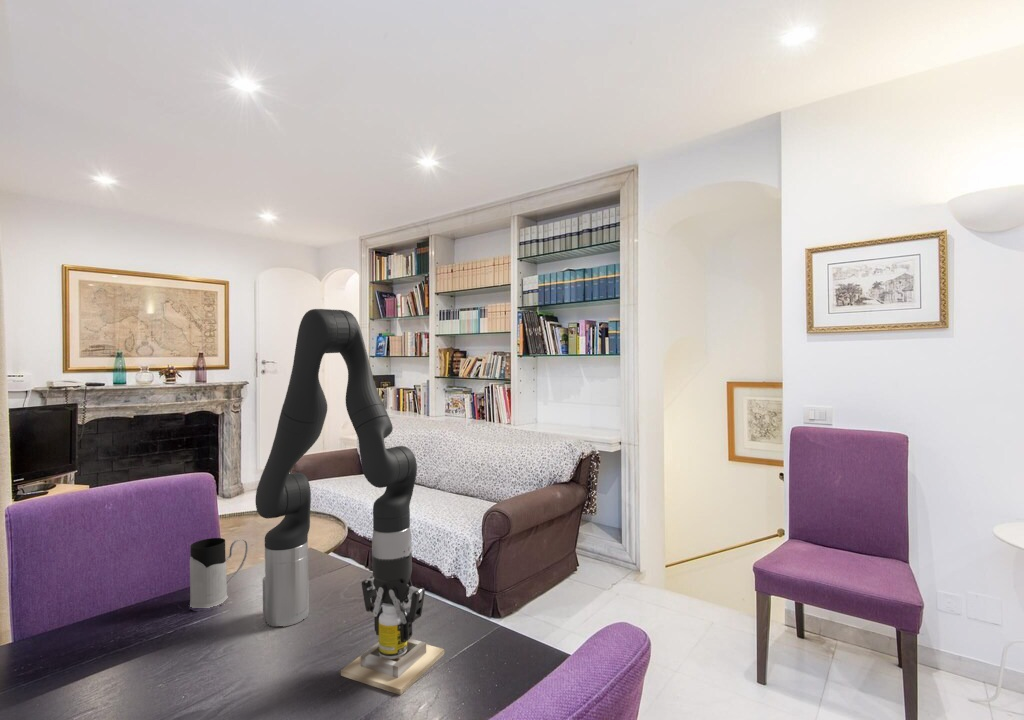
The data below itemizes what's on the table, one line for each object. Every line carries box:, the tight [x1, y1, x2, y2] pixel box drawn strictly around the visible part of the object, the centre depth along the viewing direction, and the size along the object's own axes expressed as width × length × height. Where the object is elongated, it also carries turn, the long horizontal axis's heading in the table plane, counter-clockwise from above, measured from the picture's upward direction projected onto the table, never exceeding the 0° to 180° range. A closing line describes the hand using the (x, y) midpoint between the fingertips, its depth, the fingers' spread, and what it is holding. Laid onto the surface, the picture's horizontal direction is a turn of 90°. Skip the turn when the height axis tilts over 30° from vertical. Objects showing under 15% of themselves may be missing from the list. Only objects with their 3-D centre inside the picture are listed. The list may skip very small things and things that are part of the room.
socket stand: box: [340, 638, 445, 696], centre depth 100 cm, size 14×14×3 cm
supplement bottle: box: [378, 601, 407, 659], centre depth 100 cm, size 5×5×10 cm
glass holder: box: [189, 537, 249, 608], centre depth 130 cm, size 9×14×15 cm, turn 145°
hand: (393, 636), depth 100 cm, fingers closed on supplement bottle, 5 cm apart
